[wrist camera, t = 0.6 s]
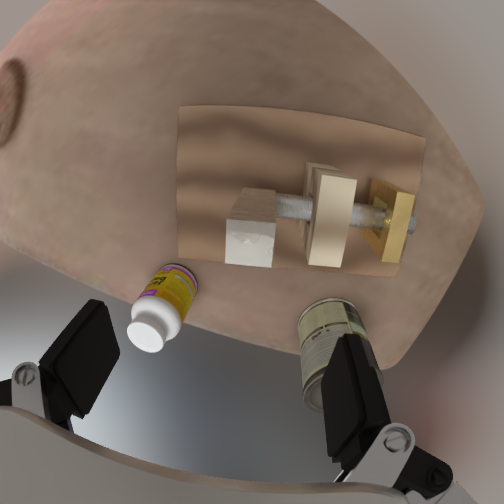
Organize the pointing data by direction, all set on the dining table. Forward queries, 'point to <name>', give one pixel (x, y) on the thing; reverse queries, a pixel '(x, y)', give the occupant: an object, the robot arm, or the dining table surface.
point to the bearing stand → (288, 180)
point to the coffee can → (327, 343)
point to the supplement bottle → (162, 308)
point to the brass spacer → (389, 220)
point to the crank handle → (264, 223)
